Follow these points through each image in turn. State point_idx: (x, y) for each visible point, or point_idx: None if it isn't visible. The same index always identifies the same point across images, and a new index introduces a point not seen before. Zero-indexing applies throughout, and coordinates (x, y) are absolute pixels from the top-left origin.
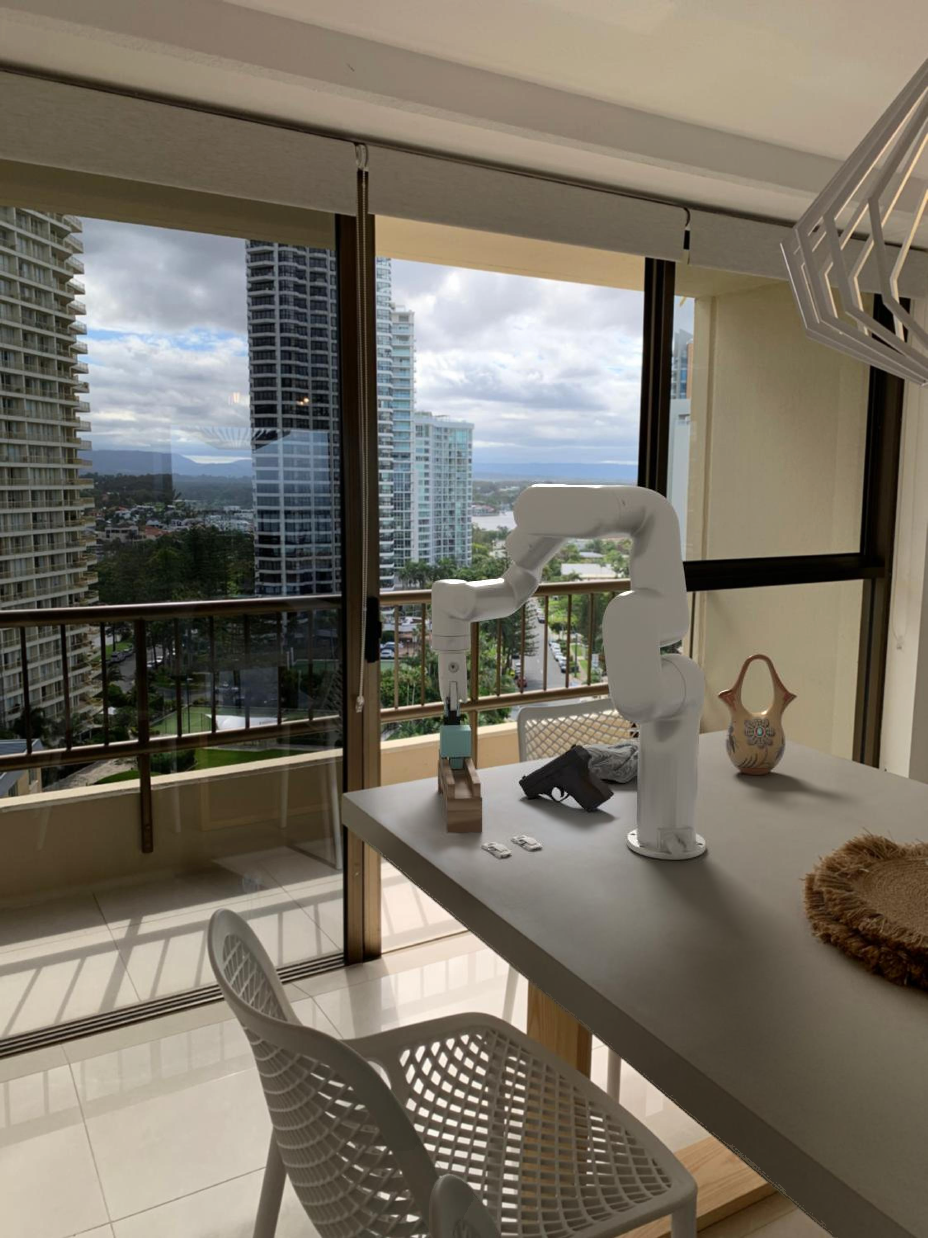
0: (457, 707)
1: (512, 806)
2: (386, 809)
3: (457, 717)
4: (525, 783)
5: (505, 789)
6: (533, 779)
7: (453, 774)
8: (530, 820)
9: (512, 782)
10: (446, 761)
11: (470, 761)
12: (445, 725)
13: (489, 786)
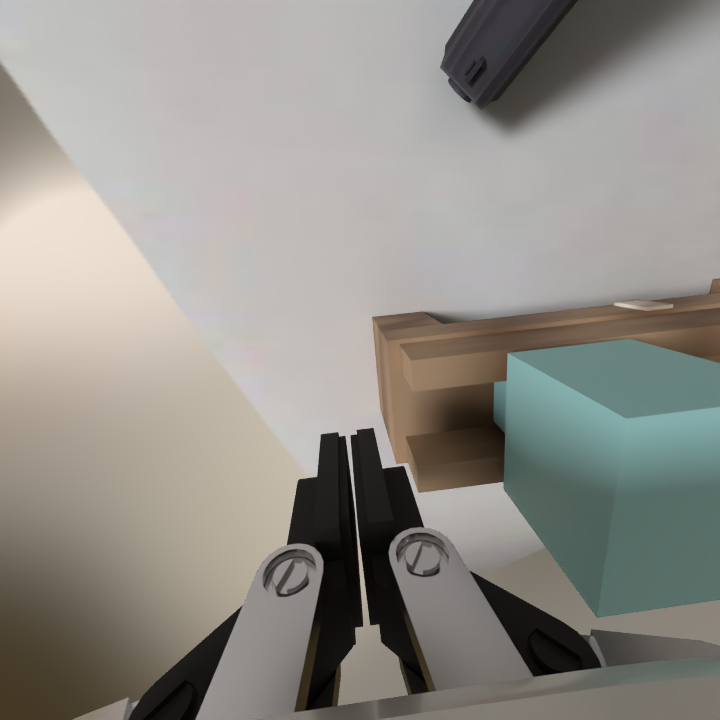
0: (578, 659)
1: (568, 164)
2: None
3: (392, 531)
4: (511, 73)
5: (380, 179)
6: (559, 14)
7: None
8: (715, 107)
9: (292, 143)
10: None
11: (669, 340)
12: (603, 584)
13: (344, 241)
